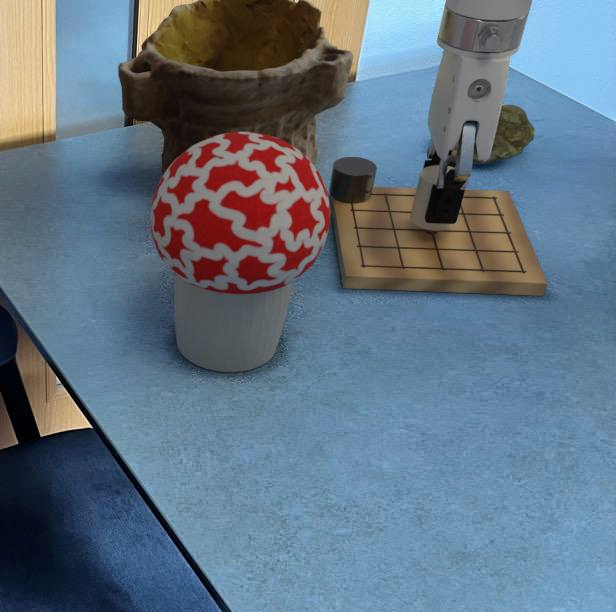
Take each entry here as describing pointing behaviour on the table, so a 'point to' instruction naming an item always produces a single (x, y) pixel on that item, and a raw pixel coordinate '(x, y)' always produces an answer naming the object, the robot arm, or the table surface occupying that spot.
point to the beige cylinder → (426, 199)
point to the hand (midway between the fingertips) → (436, 207)
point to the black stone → (352, 179)
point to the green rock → (509, 134)
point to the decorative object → (237, 243)
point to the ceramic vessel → (235, 74)
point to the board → (435, 246)
